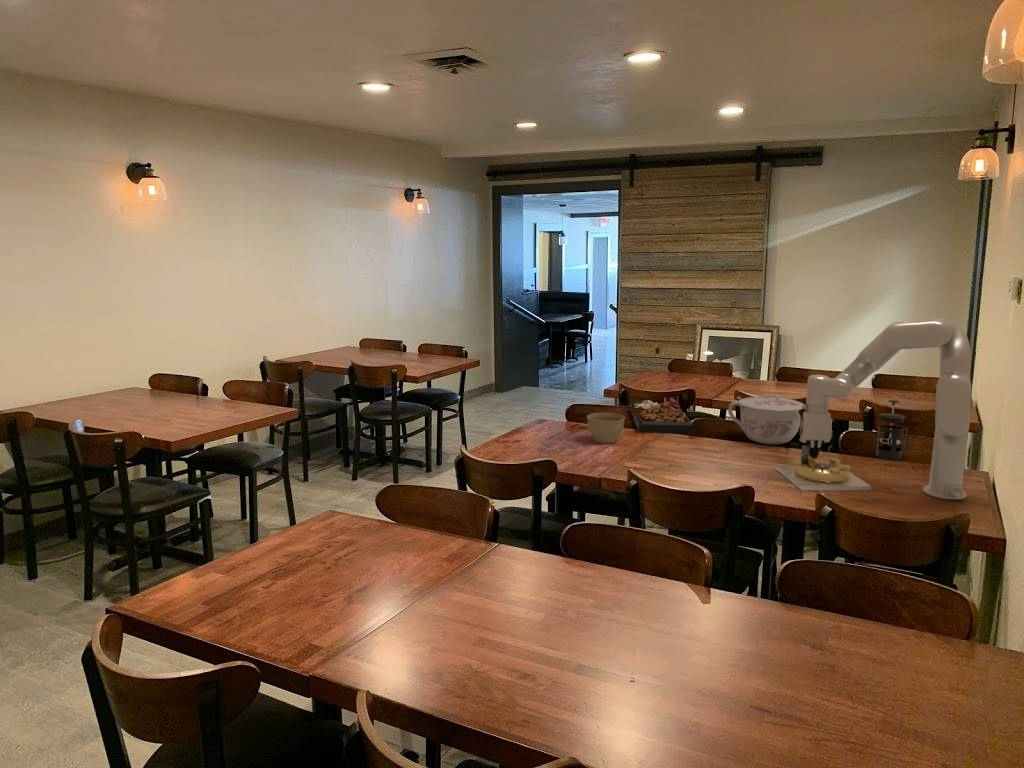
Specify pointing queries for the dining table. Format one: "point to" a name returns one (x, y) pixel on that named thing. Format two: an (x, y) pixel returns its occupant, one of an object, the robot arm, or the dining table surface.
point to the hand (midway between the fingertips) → (813, 457)
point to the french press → (892, 451)
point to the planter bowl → (605, 426)
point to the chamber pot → (768, 418)
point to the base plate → (806, 484)
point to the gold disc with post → (821, 469)
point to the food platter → (662, 418)
